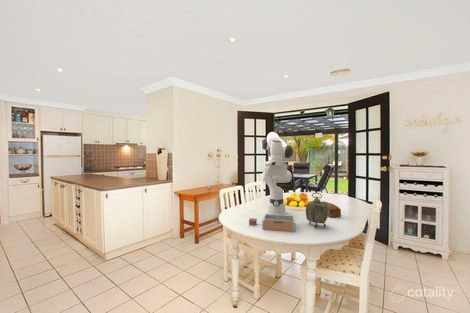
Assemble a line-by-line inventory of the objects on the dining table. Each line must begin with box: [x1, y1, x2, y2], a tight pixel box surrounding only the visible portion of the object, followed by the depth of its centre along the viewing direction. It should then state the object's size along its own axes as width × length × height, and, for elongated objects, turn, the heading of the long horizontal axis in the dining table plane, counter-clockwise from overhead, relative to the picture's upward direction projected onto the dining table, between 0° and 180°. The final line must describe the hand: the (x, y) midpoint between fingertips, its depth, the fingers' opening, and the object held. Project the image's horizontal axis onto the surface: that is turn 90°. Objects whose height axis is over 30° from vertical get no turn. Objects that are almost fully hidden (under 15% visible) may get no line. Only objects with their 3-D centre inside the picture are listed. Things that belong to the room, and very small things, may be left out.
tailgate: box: [264, 219, 294, 233], centre depth 151 cm, size 1×19×7 cm, turn 77°
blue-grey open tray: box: [261, 213, 296, 233], centre depth 159 cm, size 17×22×7 cm
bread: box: [322, 201, 342, 218], centre depth 193 cm, size 19×11×10 cm, turn 12°
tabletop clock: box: [305, 192, 329, 228], centre depth 162 cm, size 14×9×25 cm, turn 59°
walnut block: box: [248, 217, 258, 226], centre depth 164 cm, size 5×5×5 cm
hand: (276, 181), depth 159 cm, fingers open, 8 cm apart
